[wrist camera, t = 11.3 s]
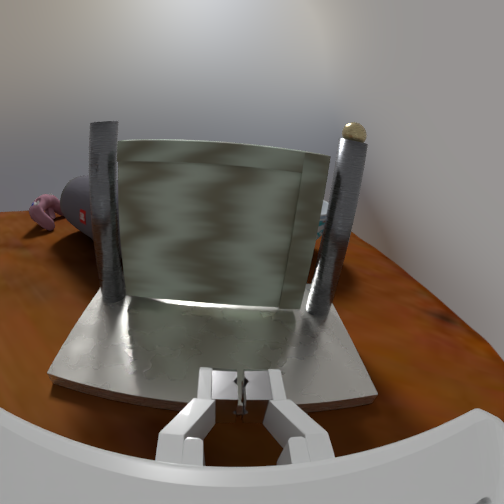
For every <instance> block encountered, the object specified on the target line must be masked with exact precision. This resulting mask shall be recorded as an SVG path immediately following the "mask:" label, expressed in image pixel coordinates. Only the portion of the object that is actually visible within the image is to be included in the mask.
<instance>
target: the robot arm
mask: <svg viewBox="0 0 504 504" xmlns="http://www.w3.org/2000/svg"><path fill="white" fill-rule="evenodd" d="M242 377H243V381H242V382H241V402H242V403H243V404H242V422H243V423H263V425H264V426H265V427H266V429H267V430H268V431H269V432H270V433H271V435H272V436H273V437H274V438H275V439H276V441H277V442H278V443H279V444H280V445H281V446H282V448H283V451H282V453H281V455H280V457H279V459H278V460H277V462H276V463H277V465H276V466H258V467H215V466H205V457H204V446H203V439H204V438H205V437H206V435H207V434H208V433H209V431H210V430H211V429H212V427H213V426H214V425H215V423H236V416H237V412H236V410H237V408H238V386H237V369H221V368H213V370H212V368H207V367H200V369H199V378H198V390H197V398H193V399H192V400H191V401H190V402H189V403H188V404H187V405H186V406H185V407H184V408H183V409H182V410H181V411H180V412H179V413H178V414H177V415H176V417H175V418H174V419H173V420H172V421H171V422H170V423H169V424H168V425H167V426H166V427H165V428H164V429H163V430H162V431H160V432H159V437H158V444H157V451H156V458H155V460H149V459H143V458H138V457H133V456H128V455H124V454H119V453H115V452H111V451H107V450H103V449H100V448H96V447H93V446H89V445H86V444H83V443H80V442H77V441H74V440H71V439H68V438H66V437H63V436H60V435H57V434H55V433H52V432H50V431H47V430H45V429H43V428H40V427H38V426H36V425H34V424H31V423H29V422H27V421H25V420H23V419H21V418H19V417H17V416H15V415H13V414H11V413H9V412H7V411H5V410H4V409H2V408H0V504H504V423H503V422H502V421H501V420H500V419H499V418H498V417H496V416H494V415H492V414H490V413H488V412H486V411H484V410H481V409H473V410H471V411H469V412H467V413H465V414H463V415H461V416H459V417H457V418H455V419H453V420H451V421H449V422H447V423H445V424H442V425H440V426H438V427H435V428H433V429H430V430H428V431H426V432H423V433H420V434H418V435H415V436H412V437H410V438H407V439H404V440H401V441H398V442H395V443H392V444H388V445H385V446H382V447H378V448H375V449H371V450H367V451H363V452H359V453H355V454H350V455H346V456H341V457H336V458H335V456H334V452H333V449H332V445H331V442H330V438H329V435H328V432H327V431H325V430H324V429H323V428H322V427H321V426H320V425H318V424H317V423H316V422H315V421H314V420H313V419H312V418H310V417H309V416H308V415H307V414H306V413H305V412H304V411H303V410H301V409H300V408H299V407H298V406H297V405H296V404H295V403H294V402H293V401H292V400H291V399H287V397H286V393H285V388H284V383H283V379H282V374H281V370H280V369H268V370H267V369H243V374H242Z"/></svg>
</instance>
